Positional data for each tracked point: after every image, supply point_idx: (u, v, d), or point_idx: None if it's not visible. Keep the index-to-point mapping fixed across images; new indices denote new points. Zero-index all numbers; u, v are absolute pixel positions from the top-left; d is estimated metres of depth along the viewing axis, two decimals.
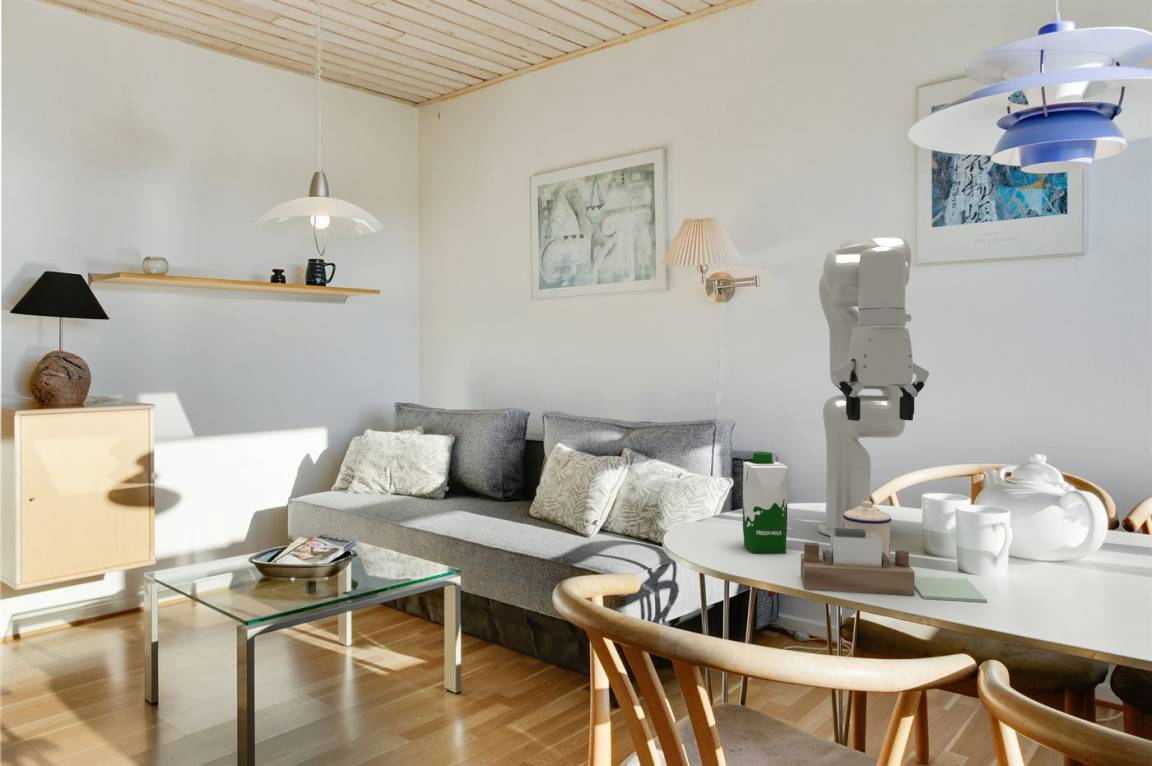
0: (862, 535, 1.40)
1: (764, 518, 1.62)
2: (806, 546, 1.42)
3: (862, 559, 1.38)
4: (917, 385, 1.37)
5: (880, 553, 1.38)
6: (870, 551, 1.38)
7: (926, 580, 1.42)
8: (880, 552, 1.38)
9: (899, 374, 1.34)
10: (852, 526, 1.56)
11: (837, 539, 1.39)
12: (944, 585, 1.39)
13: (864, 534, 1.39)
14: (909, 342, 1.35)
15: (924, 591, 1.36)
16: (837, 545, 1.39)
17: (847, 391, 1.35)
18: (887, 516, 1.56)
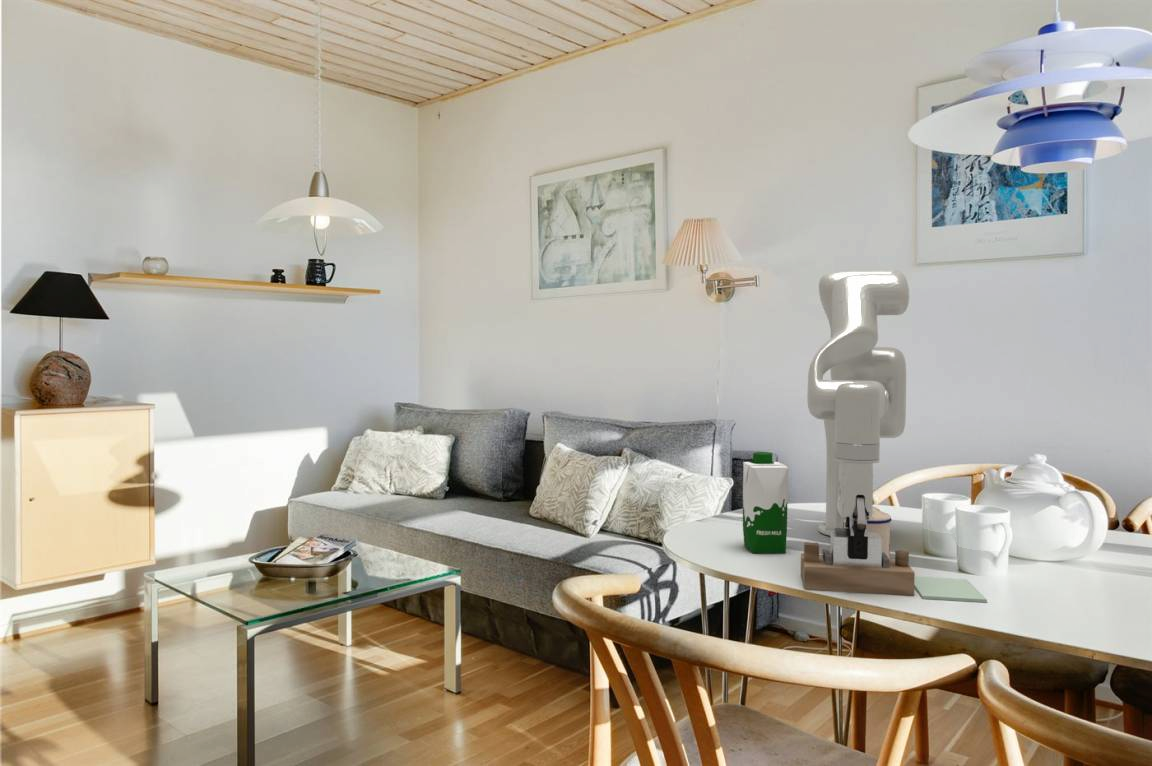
0: None
1: (764, 518, 1.62)
2: (806, 546, 1.42)
3: (862, 559, 1.38)
4: (856, 516, 1.45)
5: (880, 553, 1.38)
6: (870, 551, 1.38)
7: (926, 580, 1.42)
8: (880, 552, 1.38)
9: None
10: None
11: (837, 539, 1.39)
12: (944, 585, 1.39)
13: None
14: None
15: (924, 591, 1.36)
16: (837, 545, 1.39)
17: None
18: (887, 516, 1.56)
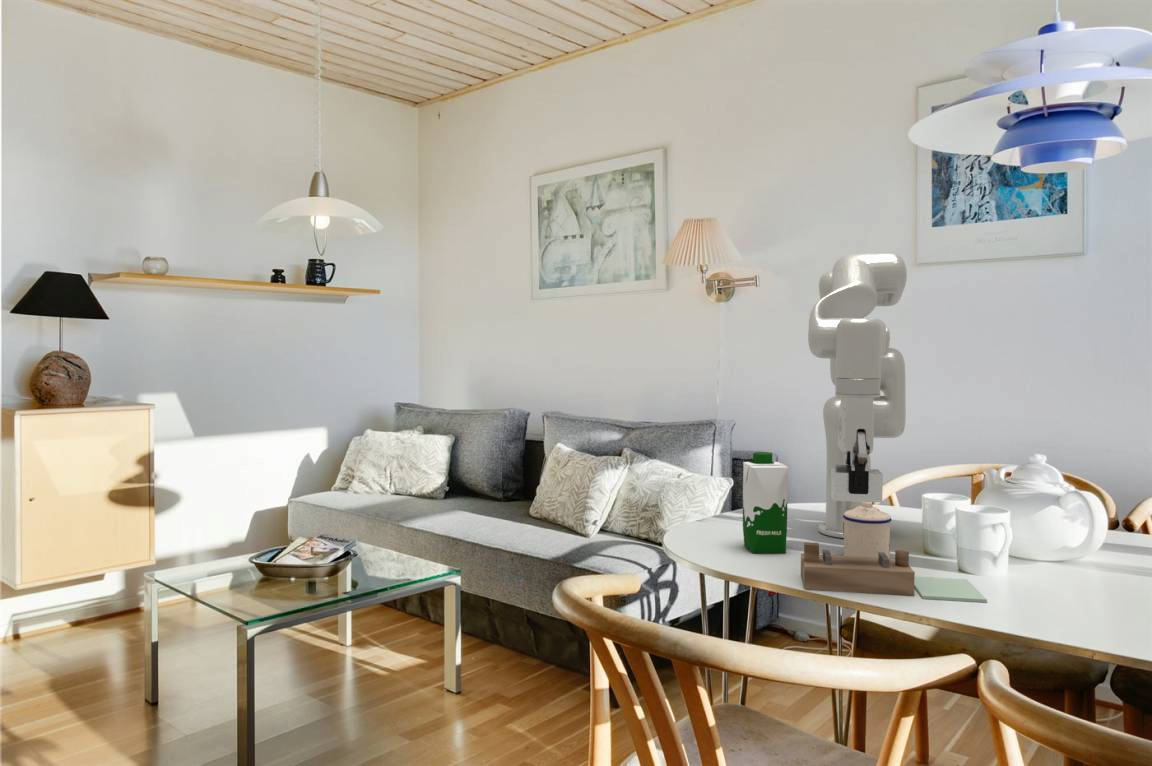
0: None
1: (764, 518, 1.62)
2: (806, 546, 1.42)
3: (863, 494, 1.38)
4: None
5: (881, 488, 1.38)
6: (871, 486, 1.38)
7: (926, 580, 1.42)
8: (881, 487, 1.38)
9: None
10: (852, 526, 1.56)
11: (838, 475, 1.39)
12: (944, 585, 1.39)
13: None
14: None
15: (924, 591, 1.36)
16: (838, 481, 1.39)
17: (865, 467, 1.36)
18: (887, 516, 1.56)
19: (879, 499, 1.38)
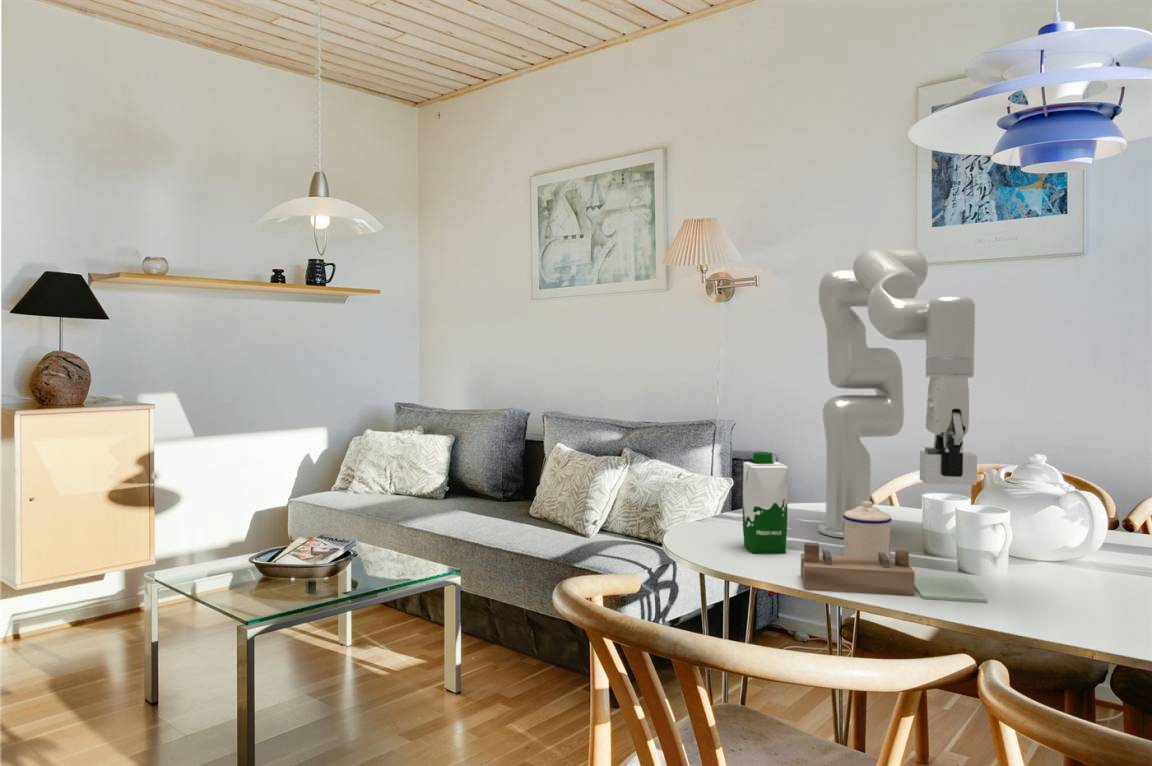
0: None
1: (764, 518, 1.62)
2: (806, 546, 1.42)
3: (956, 477, 1.35)
4: None
5: (975, 470, 1.34)
6: (965, 468, 1.34)
7: (926, 580, 1.42)
8: (975, 469, 1.34)
9: None
10: (852, 526, 1.56)
11: (930, 457, 1.36)
12: (944, 585, 1.39)
13: None
14: None
15: (924, 591, 1.36)
16: (930, 463, 1.36)
17: None
18: (887, 516, 1.56)
19: (973, 482, 1.34)
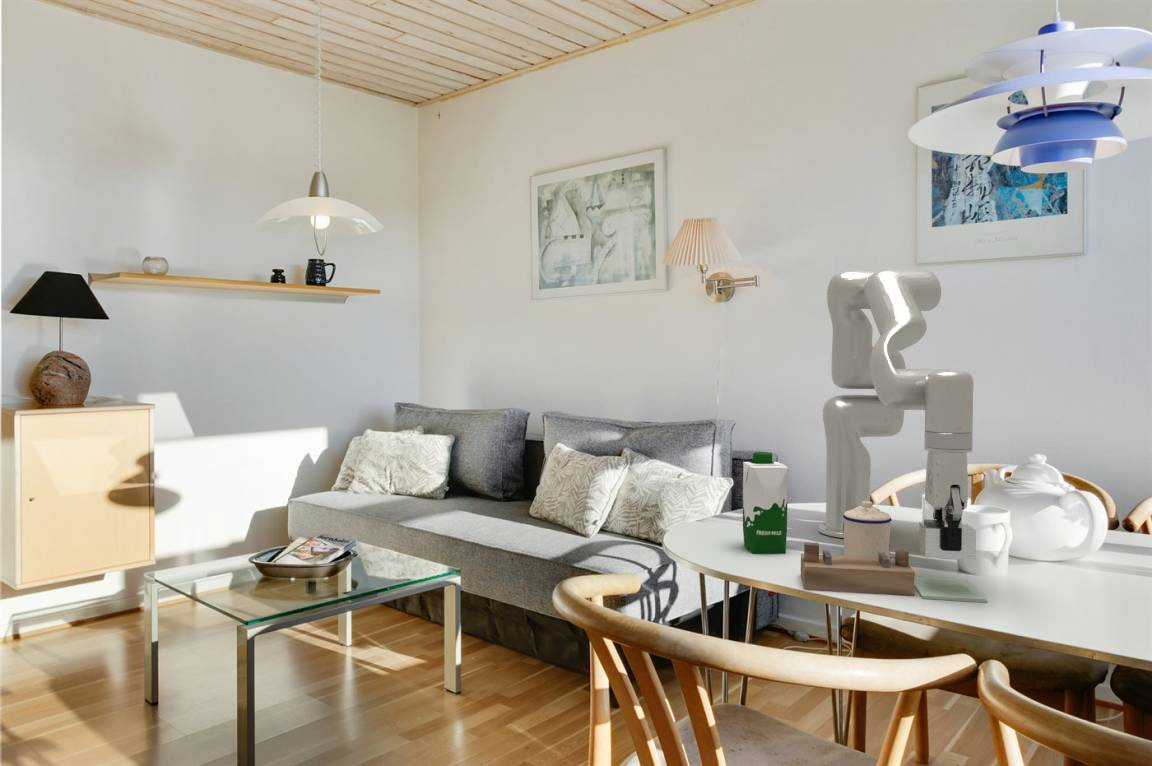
0: None
1: (764, 518, 1.62)
2: (806, 546, 1.42)
3: (955, 551, 1.35)
4: None
5: (974, 545, 1.34)
6: (964, 543, 1.35)
7: (926, 580, 1.42)
8: (974, 544, 1.34)
9: None
10: (852, 526, 1.56)
11: (929, 531, 1.36)
12: (944, 585, 1.39)
13: None
14: None
15: (924, 591, 1.36)
16: (929, 537, 1.36)
17: (958, 523, 1.33)
18: (887, 516, 1.56)
19: (972, 556, 1.35)
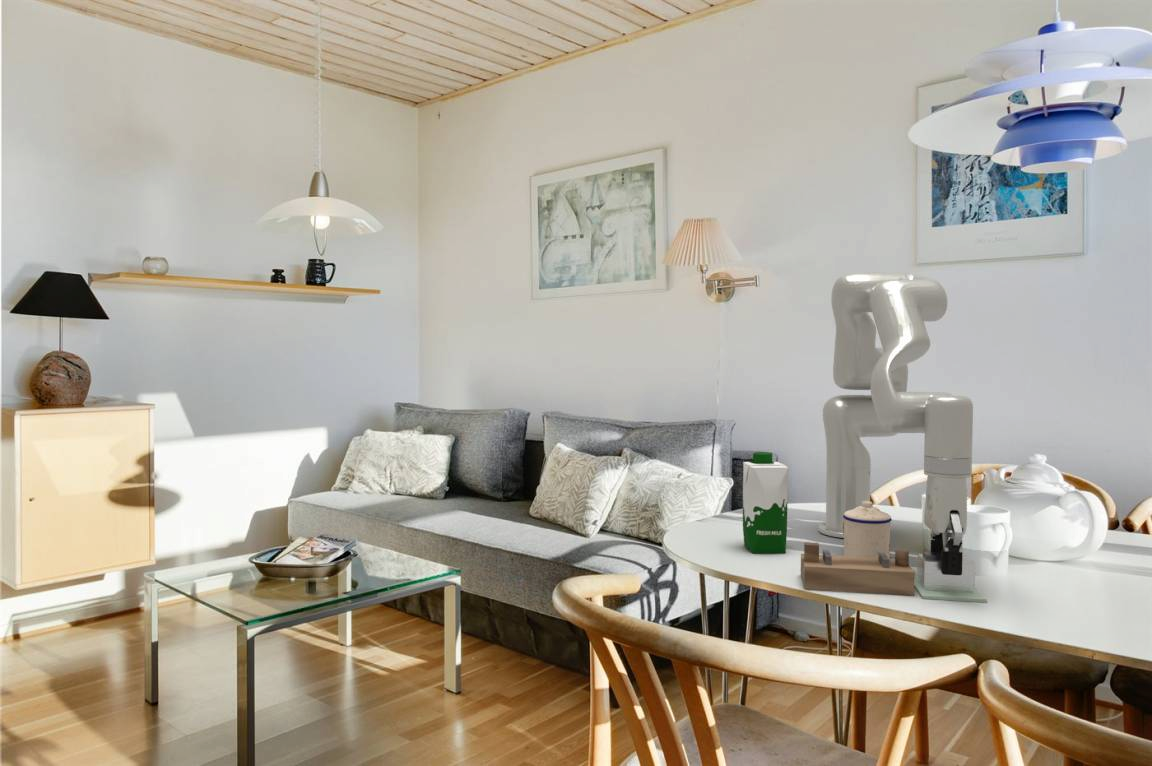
0: None
1: (764, 518, 1.62)
2: (806, 546, 1.42)
3: (954, 584, 1.36)
4: None
5: (973, 578, 1.35)
6: (962, 576, 1.35)
7: None
8: (973, 577, 1.35)
9: None
10: (852, 526, 1.56)
11: (928, 564, 1.36)
12: None
13: None
14: None
15: (924, 591, 1.36)
16: (928, 570, 1.36)
17: (959, 548, 1.32)
18: (887, 516, 1.56)
19: (971, 589, 1.35)
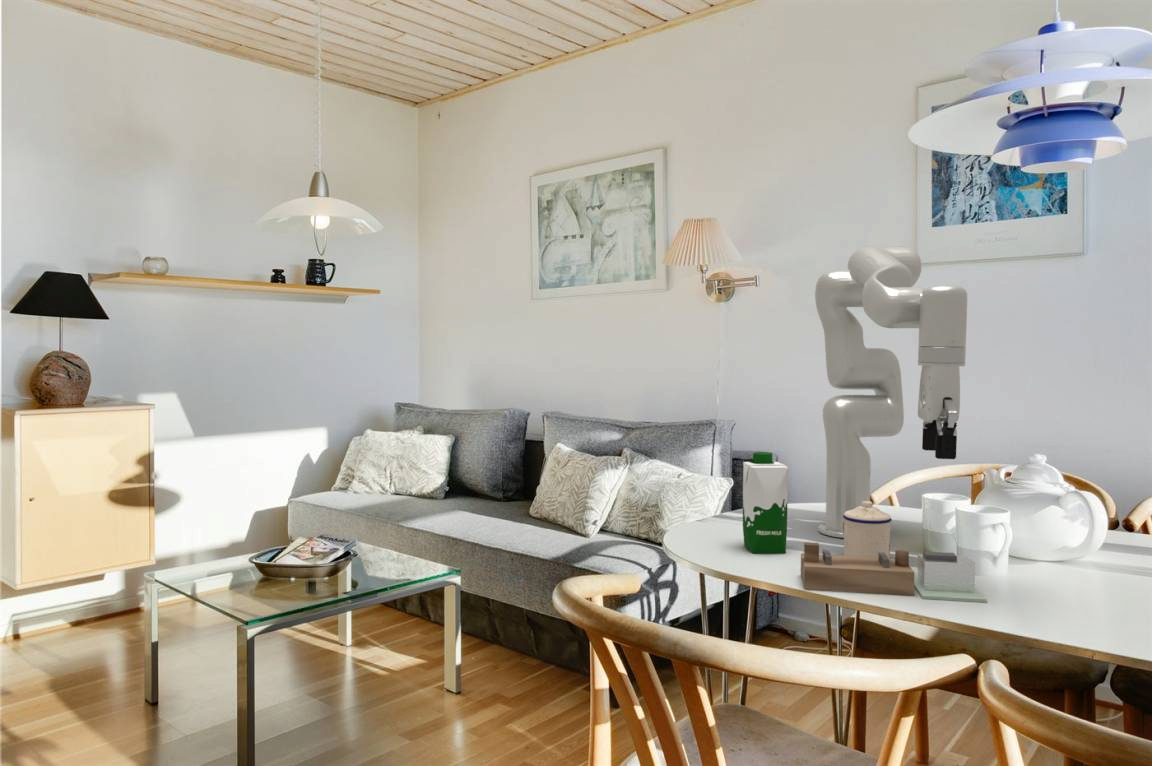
0: (953, 559, 1.37)
1: (764, 518, 1.62)
2: (806, 546, 1.42)
3: (954, 584, 1.36)
4: None
5: (973, 578, 1.35)
6: (962, 576, 1.35)
7: None
8: (973, 577, 1.35)
9: None
10: (852, 526, 1.56)
11: (928, 564, 1.36)
12: None
13: (955, 558, 1.37)
14: None
15: (924, 591, 1.36)
16: (928, 570, 1.36)
17: (953, 431, 1.33)
18: (887, 516, 1.56)
19: (971, 589, 1.35)
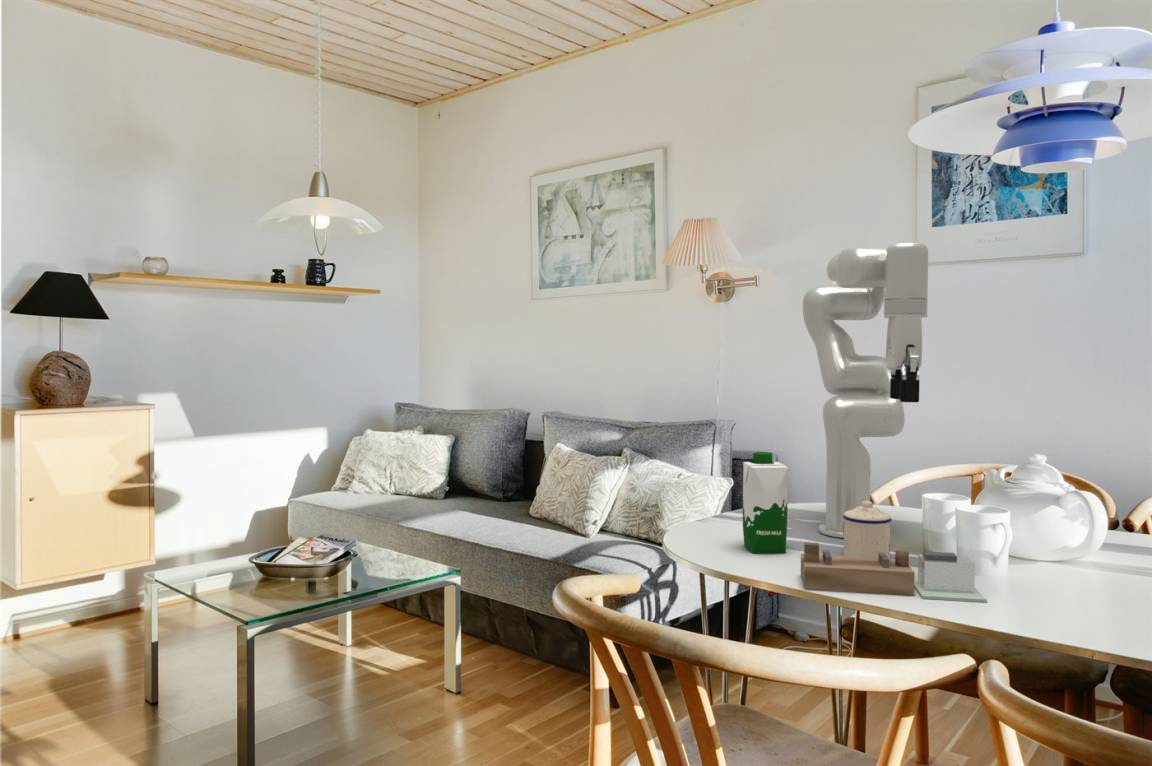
0: (953, 559, 1.37)
1: (764, 518, 1.62)
2: (806, 546, 1.42)
3: (954, 584, 1.36)
4: None
5: (973, 578, 1.35)
6: (962, 576, 1.35)
7: None
8: (973, 577, 1.35)
9: None
10: (852, 526, 1.56)
11: (928, 564, 1.36)
12: None
13: (955, 558, 1.37)
14: None
15: (924, 591, 1.36)
16: (928, 570, 1.36)
17: None
18: (887, 516, 1.56)
19: (971, 589, 1.35)
